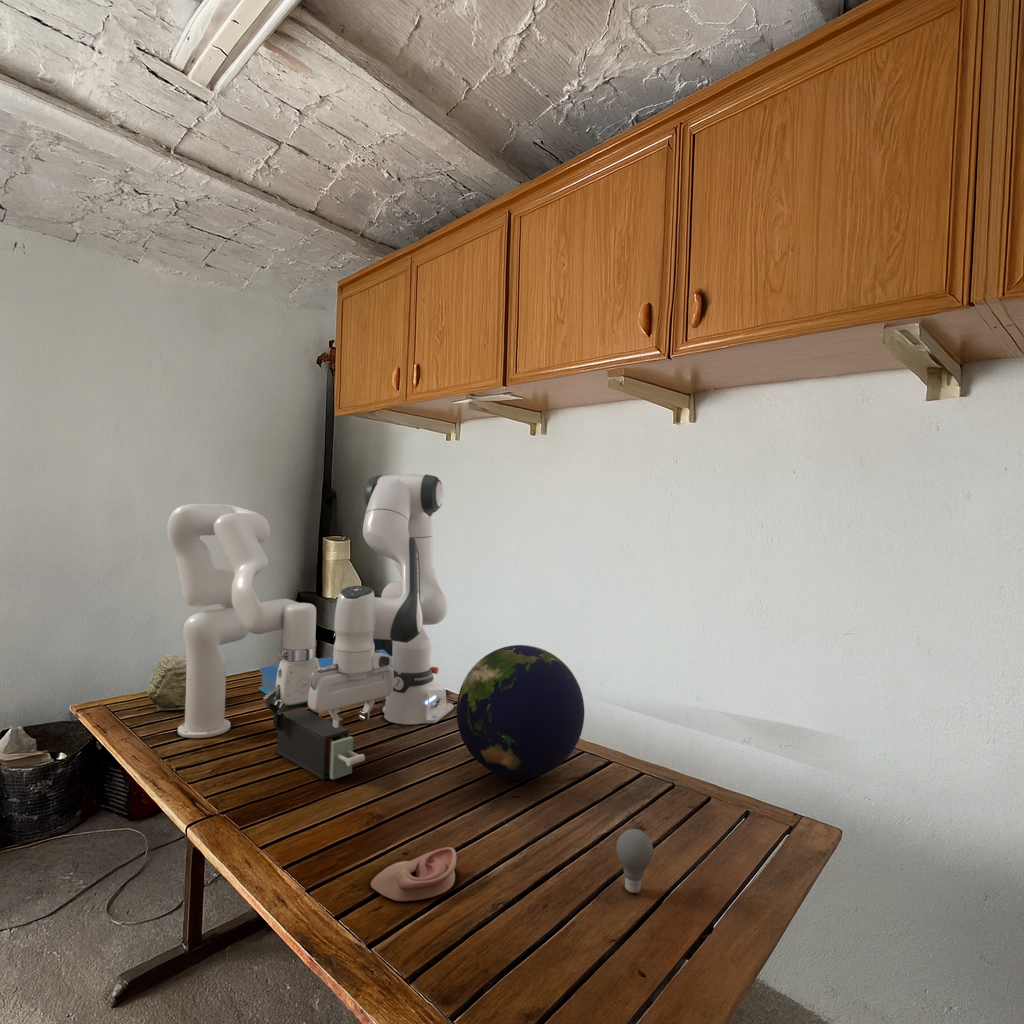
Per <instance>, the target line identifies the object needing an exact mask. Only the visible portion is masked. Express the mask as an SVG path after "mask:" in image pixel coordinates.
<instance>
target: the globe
mask: <svg viewBox="0 0 1024 1024" xmlns="http://www.w3.org/2000/svg"><path fill="white" fill-rule="evenodd" d="M456 721H457V722H456V723H457V727H458V731H459V734H460V737H461V740H462V742H463V744H464V747H465V748H466V749H467V751H468V752H469V754H470V755H471V756H472V757H473V759H474V760H475V761H476V762H477V763H478V764H479V765H481V766H482V767H483V768H485V769H486V770H488V771H489V772H491V773H493V774H495V775H497V776H500V777H502V778H507V779H511V780H527V779H528V780H529V779H535V778H538V777H542V776H544V775H546V774H549V773H551V772H552V771H554V770H556V769H557V768H558V767H559V766H561V765H562V764H563V763H564V762H565V761H566V760H567V759H568V758H569V757H570V756H571V754H572V753H573V752H574V750H575V748H576V747H577V745H578V742H579V740H580V739H581V736H582V733H583V728H584V723H585V702H584V696H583V692H582V689H581V687H580V684H579V681H578V680H577V678H576V676H575V675H574V673H573V672H572V670H571V669H570V668H569V667H568V665H567V664H566V663H565V662H564V661H562V659H560V658H559V657H558V656H556V655H555V654H553V653H552V652H550V651H547V650H546V649H543V648H540V647H537V646H532V645H529V644H514V645H513V644H512V645H507V646H503V647H500V648H497V649H495V650H493V651H491V652H489V653H488V654H486V655H484V656H483V657H481V658H480V660H478V661H477V662H476V663H475V664H474V665H473V666H472V668H471V669H470V670H469V671H468V672H467V674H466V676H465V677H464V679H463V682H462V684H461V686H460V689H459V692H458V696H457V703H456Z"/></svg>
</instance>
